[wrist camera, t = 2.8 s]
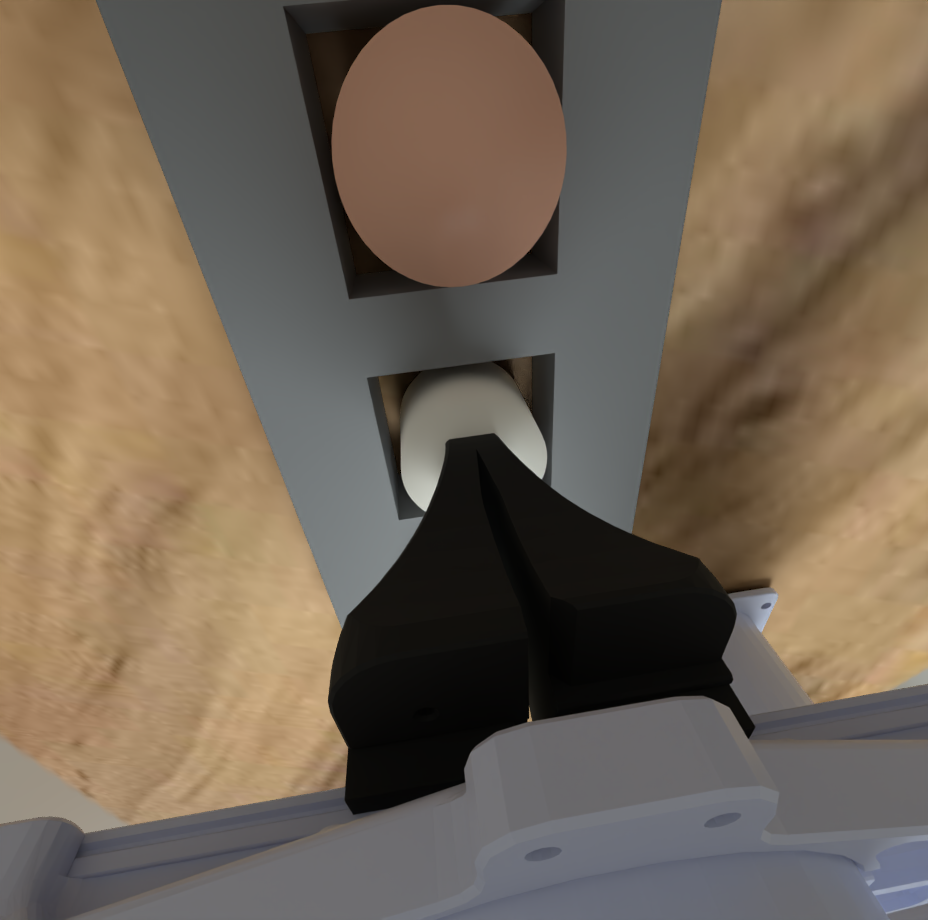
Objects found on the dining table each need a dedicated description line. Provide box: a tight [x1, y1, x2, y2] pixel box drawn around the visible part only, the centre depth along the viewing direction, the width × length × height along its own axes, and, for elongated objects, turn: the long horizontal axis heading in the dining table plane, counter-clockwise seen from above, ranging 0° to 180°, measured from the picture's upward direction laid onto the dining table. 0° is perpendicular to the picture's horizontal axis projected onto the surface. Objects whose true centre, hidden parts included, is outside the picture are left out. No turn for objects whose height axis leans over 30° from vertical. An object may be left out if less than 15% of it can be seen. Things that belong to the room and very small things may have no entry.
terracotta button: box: [332, 5, 567, 287], centre depth 9 cm, size 4×4×3 cm
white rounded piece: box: [400, 362, 547, 512], centre depth 14 cm, size 4×4×3 cm
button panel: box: [96, 0, 722, 628], centre depth 15 cm, size 20×11×2 cm, turn 5°
